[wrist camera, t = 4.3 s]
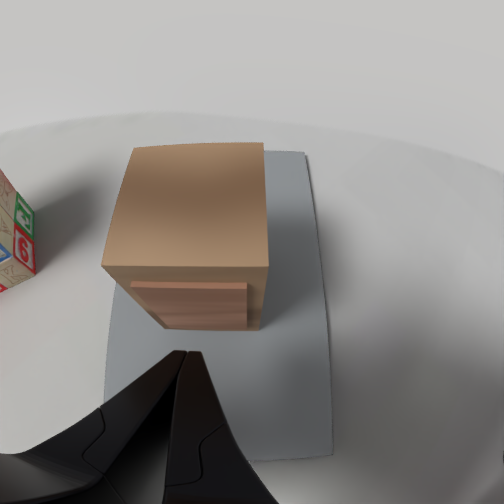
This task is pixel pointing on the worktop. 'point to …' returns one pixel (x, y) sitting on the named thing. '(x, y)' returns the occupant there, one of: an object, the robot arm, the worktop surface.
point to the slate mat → (255, 336)
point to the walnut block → (193, 235)
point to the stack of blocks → (15, 237)
